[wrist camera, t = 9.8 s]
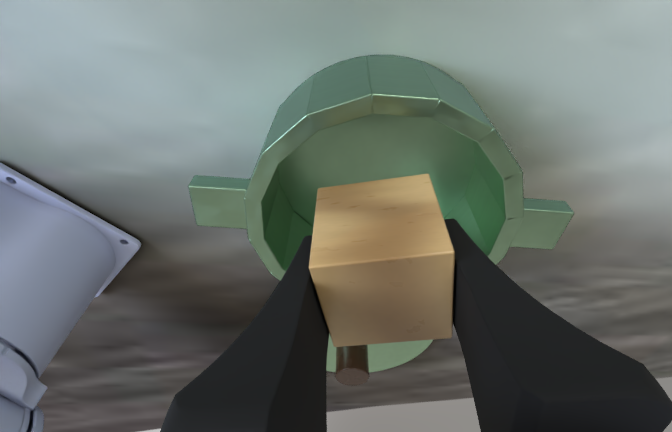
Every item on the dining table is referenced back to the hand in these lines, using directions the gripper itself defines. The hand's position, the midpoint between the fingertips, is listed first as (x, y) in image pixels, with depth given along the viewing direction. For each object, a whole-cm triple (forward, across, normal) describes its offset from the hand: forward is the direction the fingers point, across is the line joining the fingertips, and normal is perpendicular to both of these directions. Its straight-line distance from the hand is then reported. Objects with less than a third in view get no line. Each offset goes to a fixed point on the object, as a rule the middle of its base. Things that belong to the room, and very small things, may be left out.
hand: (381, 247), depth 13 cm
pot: (+9, 0, +2) cm, 9 cm away
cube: (+1, 0, 0) cm, 1 cm away
